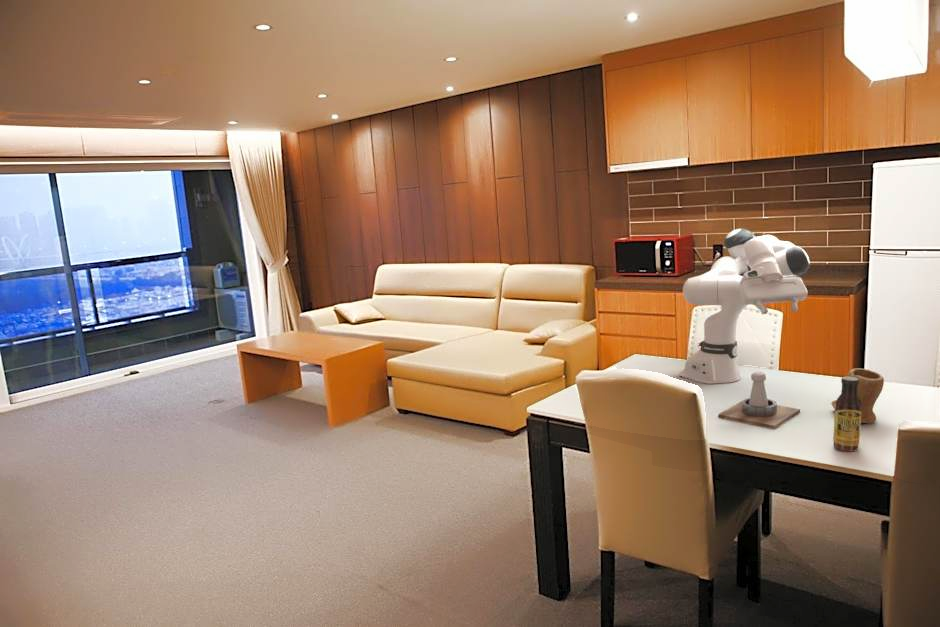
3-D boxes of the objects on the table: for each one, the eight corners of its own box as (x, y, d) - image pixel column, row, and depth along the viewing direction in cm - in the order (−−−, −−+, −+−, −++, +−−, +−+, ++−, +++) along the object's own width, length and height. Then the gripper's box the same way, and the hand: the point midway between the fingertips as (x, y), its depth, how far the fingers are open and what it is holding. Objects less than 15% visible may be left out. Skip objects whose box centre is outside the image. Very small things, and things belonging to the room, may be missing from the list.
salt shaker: (745, 410, 216) (744, 371, 214) (761, 408, 217) (761, 369, 215) (755, 416, 210) (755, 376, 208) (772, 414, 211) (772, 374, 209)
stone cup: (887, 426, 197) (889, 376, 194) (842, 425, 200) (843, 377, 198) (872, 409, 211) (873, 362, 209) (830, 408, 215) (831, 363, 212)
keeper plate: (718, 417, 216) (718, 414, 215) (745, 402, 227) (745, 399, 227) (774, 428, 202) (774, 425, 202) (800, 412, 214) (800, 409, 214)
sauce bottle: (834, 451, 183) (836, 381, 179) (831, 443, 189) (832, 374, 185) (862, 453, 181) (864, 381, 177) (858, 444, 186) (860, 375, 183)
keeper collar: (736, 413, 215) (736, 404, 214) (751, 404, 221) (751, 395, 221) (767, 419, 208) (767, 409, 207) (782, 410, 214) (782, 401, 214)
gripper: (796, 280, 225) (810, 314, 217) (734, 285, 226) (745, 319, 218) (802, 269, 220) (816, 303, 212) (739, 273, 221) (750, 308, 213)
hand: (780, 311), depth 215 cm, fingers open, 8 cm apart
